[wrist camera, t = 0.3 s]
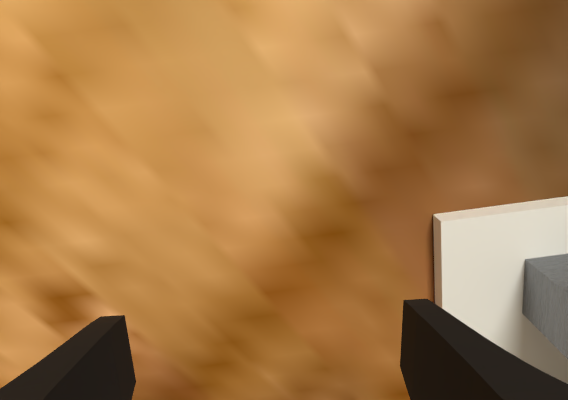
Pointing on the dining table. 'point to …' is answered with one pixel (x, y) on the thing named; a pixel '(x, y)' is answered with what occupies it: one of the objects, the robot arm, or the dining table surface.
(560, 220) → the board
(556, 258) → the eye block
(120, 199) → the dining table surface
